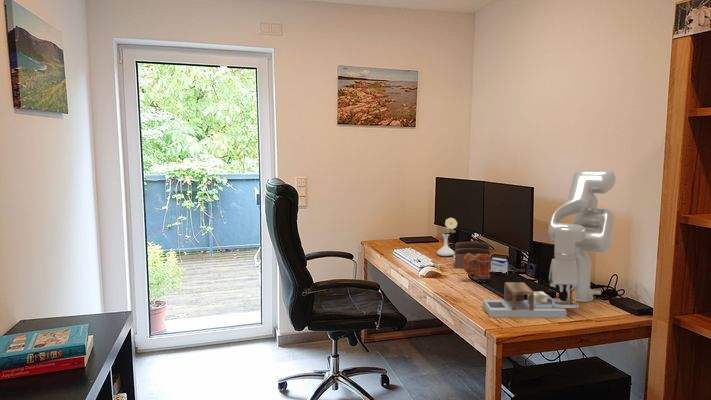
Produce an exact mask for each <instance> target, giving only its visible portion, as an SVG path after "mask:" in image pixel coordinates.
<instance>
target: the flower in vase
mask: <svg viewBox="0 0 711 400" xmlns="http://www.w3.org/2000/svg"><path fill="white" fill-rule="evenodd" d="M444 225H445V227H446V229H447V228H448V229H449V230H448V231H446V230H444V229H442V232H444V233H442V234H441V235H442V238H443V246H441V248H439V249H438V250H437V251H436V254H437V255H438V256H441V257H451V256H455V250H453V249H452V248H450V246H449V245H448V240H449V236H450V234H449V232H450V233H451V234H454V233H456V232H457V231H456V230H455V228H457V226H458V222H457V220H456V218H454V217H449V218H447V219H445V222H444Z"/></svg>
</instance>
